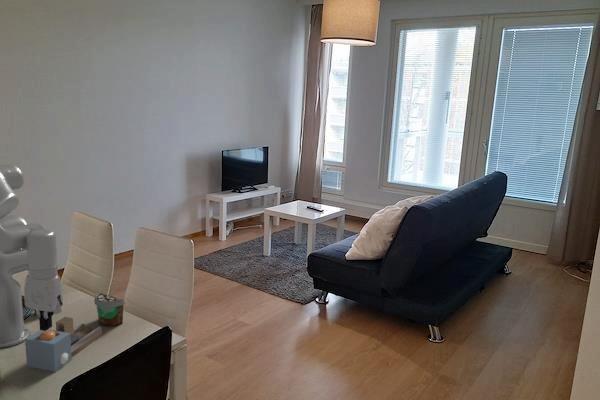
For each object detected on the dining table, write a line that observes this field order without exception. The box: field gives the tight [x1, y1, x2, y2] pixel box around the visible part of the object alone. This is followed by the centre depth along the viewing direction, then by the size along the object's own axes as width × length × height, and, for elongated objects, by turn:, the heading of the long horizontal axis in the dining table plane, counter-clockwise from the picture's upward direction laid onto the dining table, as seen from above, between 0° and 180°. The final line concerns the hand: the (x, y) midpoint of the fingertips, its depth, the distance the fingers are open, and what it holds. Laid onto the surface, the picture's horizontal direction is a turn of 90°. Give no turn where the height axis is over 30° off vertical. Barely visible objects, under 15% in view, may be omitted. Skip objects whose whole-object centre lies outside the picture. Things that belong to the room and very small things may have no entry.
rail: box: [71, 323, 103, 358], centre depth 158 cm, size 8×17×3 cm, turn 166°
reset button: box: [40, 330, 56, 341], centre depth 146 cm, size 4×4×4 cm
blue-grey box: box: [24, 328, 73, 373], centre depth 146 cm, size 10×7×9 cm
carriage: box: [55, 316, 79, 346], centre depth 153 cm, size 5×6×9 cm
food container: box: [93, 290, 126, 328], centre depth 172 cm, size 12×6×10 cm, turn 62°
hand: (46, 328), depth 145 cm, fingers closed
